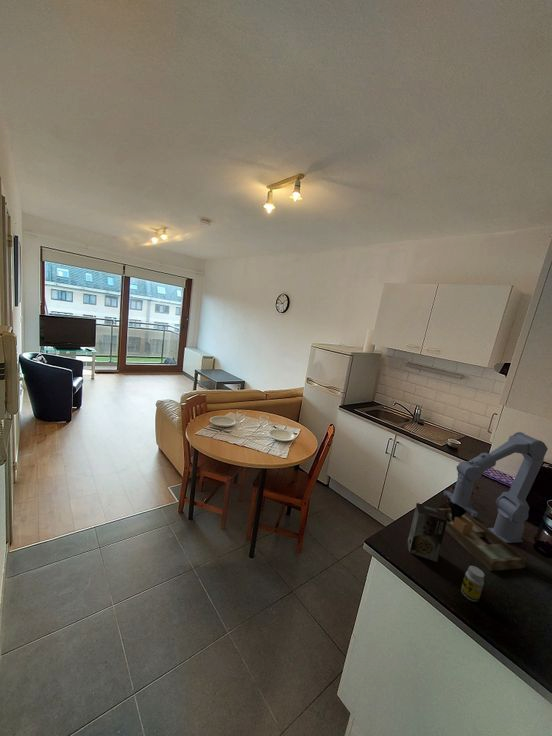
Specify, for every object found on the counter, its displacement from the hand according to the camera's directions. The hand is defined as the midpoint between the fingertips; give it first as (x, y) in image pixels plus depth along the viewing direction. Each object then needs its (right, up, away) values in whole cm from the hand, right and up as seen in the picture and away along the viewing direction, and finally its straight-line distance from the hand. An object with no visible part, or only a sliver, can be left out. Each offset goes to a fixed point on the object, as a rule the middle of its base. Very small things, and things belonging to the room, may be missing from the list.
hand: (454, 520), depth 118 cm
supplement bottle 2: (-15, -6, -31) cm, 35 cm away
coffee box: (-22, -3, -16) cm, 27 cm away
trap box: (+4, -5, -5) cm, 8 cm away
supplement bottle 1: (+9, -3, +16) cm, 19 cm away
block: (+1, -2, -3) cm, 4 cm away
